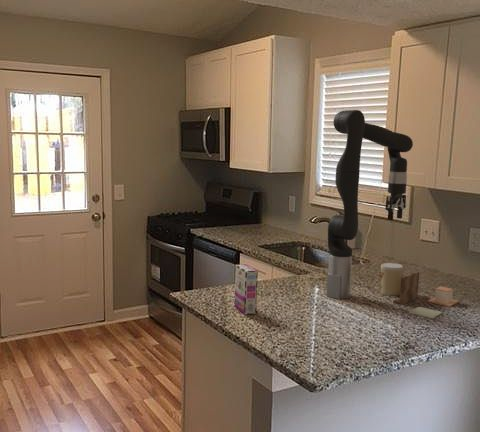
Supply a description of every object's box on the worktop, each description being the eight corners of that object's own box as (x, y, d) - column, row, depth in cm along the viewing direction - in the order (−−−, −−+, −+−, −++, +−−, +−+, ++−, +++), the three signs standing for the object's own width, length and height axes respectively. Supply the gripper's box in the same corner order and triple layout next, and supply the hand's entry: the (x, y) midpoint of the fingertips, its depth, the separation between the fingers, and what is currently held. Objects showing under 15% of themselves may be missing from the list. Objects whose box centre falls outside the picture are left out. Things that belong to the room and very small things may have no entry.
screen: (402, 304, 205) (404, 277, 204) (392, 302, 208) (394, 275, 206) (417, 297, 215) (419, 271, 214) (408, 295, 218) (410, 269, 217)
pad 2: (450, 306, 204) (450, 305, 204) (427, 301, 210) (427, 300, 210) (458, 302, 211) (458, 300, 211) (436, 297, 217) (436, 296, 217)
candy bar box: (257, 314, 190) (258, 270, 188) (244, 315, 188) (245, 271, 186) (246, 305, 200) (247, 263, 198) (233, 306, 199) (234, 264, 196)
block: (446, 303, 207) (447, 291, 206) (434, 300, 210) (435, 288, 209) (451, 300, 210) (452, 288, 210) (439, 298, 214) (440, 286, 213)
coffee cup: (382, 288, 228) (384, 261, 226) (404, 292, 223) (406, 264, 221) (376, 293, 220) (377, 265, 218) (398, 297, 215) (400, 269, 213)
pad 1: (432, 318, 190) (432, 317, 189) (409, 312, 196) (409, 311, 195) (442, 313, 196) (442, 312, 196) (419, 307, 202) (419, 306, 202)
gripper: (397, 183, 218) (395, 221, 220) (412, 182, 228) (410, 218, 230) (381, 182, 223) (379, 219, 225) (396, 181, 233) (394, 216, 235)
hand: (394, 219), depth 228 cm, fingers open, 8 cm apart
